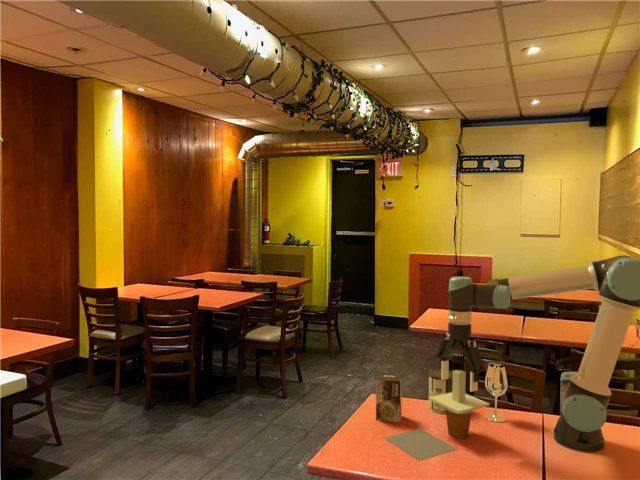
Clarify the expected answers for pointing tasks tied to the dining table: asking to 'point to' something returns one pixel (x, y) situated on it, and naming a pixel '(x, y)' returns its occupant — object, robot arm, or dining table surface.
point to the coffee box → (388, 398)
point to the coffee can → (439, 389)
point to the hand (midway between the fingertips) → (458, 384)
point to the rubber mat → (420, 444)
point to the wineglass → (496, 388)
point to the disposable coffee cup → (458, 423)
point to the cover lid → (458, 396)
